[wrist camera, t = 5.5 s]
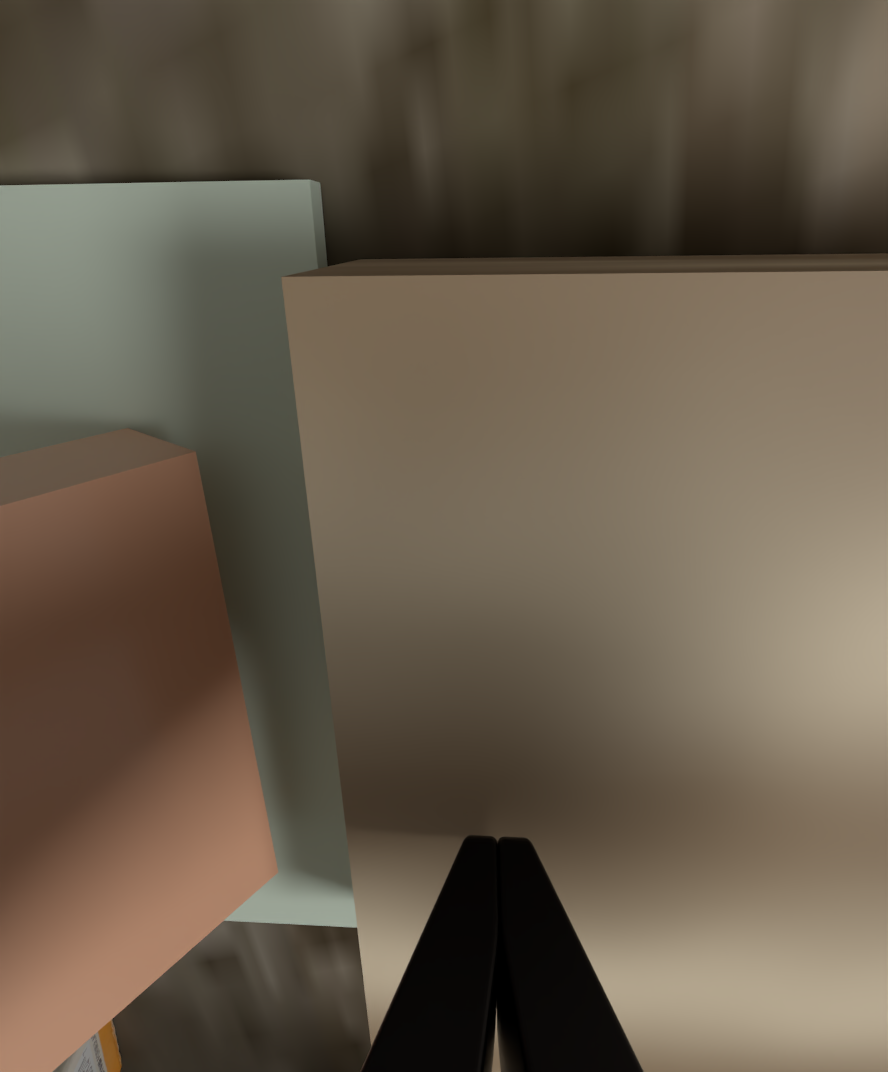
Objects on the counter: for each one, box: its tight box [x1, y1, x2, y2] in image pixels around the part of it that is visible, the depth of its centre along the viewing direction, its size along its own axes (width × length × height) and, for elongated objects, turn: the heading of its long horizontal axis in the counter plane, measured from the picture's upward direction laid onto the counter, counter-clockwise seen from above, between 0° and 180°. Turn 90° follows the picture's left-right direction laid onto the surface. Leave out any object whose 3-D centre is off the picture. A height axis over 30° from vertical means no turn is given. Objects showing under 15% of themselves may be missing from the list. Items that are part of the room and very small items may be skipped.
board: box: [281, 253, 888, 1072], centre depth 10 cm, size 14×16×4 cm
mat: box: [0, 180, 357, 927], centre depth 12 cm, size 16×11×1 cm
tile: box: [0, 428, 278, 1072], centre depth 9 cm, size 9×6×2 cm
